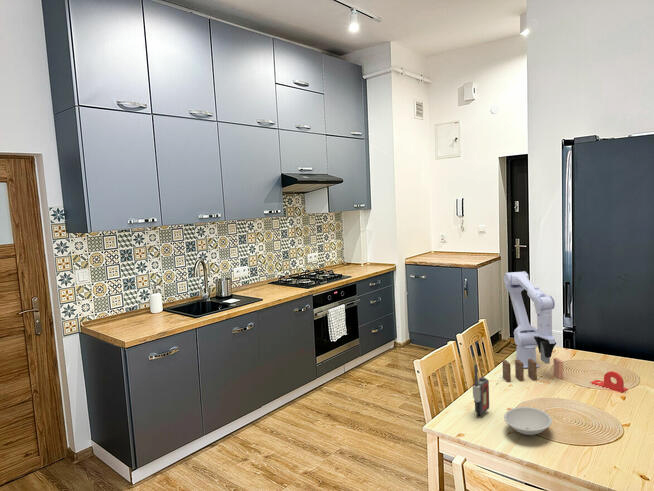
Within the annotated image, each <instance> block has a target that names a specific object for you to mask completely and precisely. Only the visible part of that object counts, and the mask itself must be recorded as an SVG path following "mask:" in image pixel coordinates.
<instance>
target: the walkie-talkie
mask: <svg viewBox="0 0 654 491" xmlns="http://www.w3.org/2000/svg"><path fill="white" fill-rule="evenodd" d="M473 366H474V367H473V369H474V370H473V372H474V383H472V398H473V399H474V400H473V402H474V413H477V414H476V415H477V417H479V418H481V415H483V414H485V413H486V412H487V411H488V410H489V409H490V386H489V385H490V381H489V379H488V378H486V377H484V376H481V377H479V376H478V365H477V364H474V365H473ZM478 377H479V378H478Z"/></svg>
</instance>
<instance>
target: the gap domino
mask: <svg viewBox="0 0 654 491" xmlns="http://www.w3.org/2000/svg"><path fill="white" fill-rule="evenodd" d="M540 349H541V353H540V360H541V362H542V363H544V364H546V365H548V364H549V365H550V364H551V363H550V360H551V359H550V358H551V357H548V358H546V357H545V354H544V348H543V345H542V343H541V342H540Z"/></svg>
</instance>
